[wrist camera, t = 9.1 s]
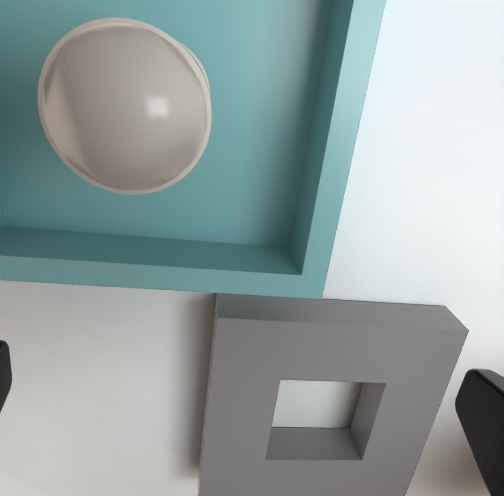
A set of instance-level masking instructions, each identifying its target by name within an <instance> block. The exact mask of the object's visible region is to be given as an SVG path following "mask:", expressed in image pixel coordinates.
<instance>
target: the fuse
mask: <svg viewBox="0 0 504 496" xmlns="http://www.w3.org/2000/svg"><path fill="white" fill-rule="evenodd" d="M38 109H39V116H40V119H41V123H42V127H43V129H44V132H45V134H46V137H47V139H48V140H49V142H50V144H51V146H52V148H53V149H54V150H55V152H56V153H57V155H58V156H59V157H60V159H61V160H62V161H63V162H64V163H65V164H66V165H67V166H68V167H69V168H70V169H71V170H72V171H73V172H74V173H76V174H77V175H78V176H80V177H81V178H83V179H84V180H85V181H87V182H89V183H91V184H93V185H95V186H97V187H99V188H102V189H104V190H107V191H111V192H115V193H120V194H130V195H139V194H148V193H152V192H157V191H160V190H162V189H165V188H167V187H169V186H171V185H173V184H175V183H176V182H178V181H179V180H181V179H182V178H184V177H185V176H186V175H187V174H188V173H189V172H190V171H191V170H192V169H193V167H194V166H195V165H196V164H197V162H198V161H199V159H200V157H201V156H202V154H203V152H204V150H205V147H206V145H207V142H208V138H209V135H210V129H211V119H212V110H211V99H210V85H209V80H208V76H207V74H206V71H205V69H204V67H203V65H202V63H201V62H200V60H199V59H198V57H197V56H196V55H195V54H194V53H193V52H192V51H191V50H190V49H189V48H188V47H187V46H185V45H184V44H182V43H181V42H179V41H177V40H175V39H174V38H173V37H171V36H170V35H168V34H167V33H165V32H164V31H162V30H160V29H158V28H156V27H154V26H152V25H150V24H147V23H144V22H141V21H138V20H133V19H129V18H117V17H113V18H102V19H97V20H93V21H90V22H87V23H85V24H82V25H80V26H78V27H76V28H75V29H73V30H71V31H70V32H69V33H67V34H66V35H65V36H64V37H62V38H61V39H60V40H59V42H58V43H57V44H56V45H55V46H54V47H53V49H52V50H51V52H50V53H49V55H48V56H47V58H46V61H45V63H44V65H43V67H42V71H41V74H40V78H39V84H38Z"/></svg>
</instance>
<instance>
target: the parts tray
mask: <svg viewBox="0 0 504 496" xmlns="http://www.w3.org/2000/svg"><path fill="white" fill-rule="evenodd" d="M385 3H386V0H0V280H8V281H25V282H42V283H59V284H76V285H93V286H110V287H127V288H144V289H161V290H178V291H195V292H212V293H229V294H246V295H263V296H280V297H297V298H314V299H322V295H323V290H324V285H325V281H326V276H327V272H328V267H329V262H330V258H331V253H332V248H333V244H334V239H335V235H336V230H337V225H338V221H339V216H340V211H341V207H342V202H343V198H344V193H345V188H346V184H347V179H348V174H349V170H350V165H351V160H352V156H353V151H354V147H355V142H356V137H357V133H358V128H359V123H360V119H361V114H362V110H363V105H364V100H365V96H366V91H367V86H368V82H369V77H370V73H371V68H372V63H373V59H374V54H375V49H376V45H377V40H378V35H379V31H380V26H381V22H382V17H383V12H384V8H385ZM113 17H117V18H129V19H133V20H138V21H141V22H144V23H147V24H150V25H152V26H154V27H156V28H158V29H160V30H162V31H164V32H165V33H167V34H168V35H170V36H171V37H173V38H174V39H175V40H177V41H179V42H181V43H182V44H184V45H185V46H187V47H188V48H189V49H190V50H191V51H192V52H193V53H194V54H195V55H196V56H197V57H198V59H199V60H200V62H201V63H202V65H203V67H204V69H205V71H206V74H207V76H208V80H209V85H210V99H211V110H212V119H211V129H210V135H209V138H208V142H207V145H206V147H205V150H204V152H203V154H202V156H201V157H200V159H199V161H198V162H197V164H196V165H195V166H194V167H193V169H192V170H191V171H190V172H189V173H188V174H187V175H186V176H185V177H184V178H182V179H181V180H179V181H178V182H176V183H175V184H173V185H171V186H169V187H167V188H165V189H162V190H160V191H157V192H152V193H148V194H139V195H130V194H120V193H115V192H111V191H107V190H104V189H102V188H99V187H97V186H95V185H93V184H91V183H89V182H87V181H85V180H84V179H83V178H81V177H80V176H78V175H77V174H76V173H74V172H73V171H72V170H71V169H70V168H69V167H68V166H67V165H66V164H65V163H64V162H63V161H62V160H61V159H60V157H59V156H58V155H57V153H56V152H55V150H54V149H53V148H52V146H51V144H50V142H49V140H48V139H47V137H46V134H45V132H44V129H43V127H42V123H41V119H40V116H39V109H38V84H39V78H40V74H41V71H42V67H43V65H44V63H45V61H46V58H47V56H48V55H49V53H50V52H51V50H52V49H53V47H54V46H55V45H56V44H57V43H58V42H59V40H60V39H61V38H62V37H64V36H65V35H66V34H67V33H69V32H70V31H71V30H73V29H75V28H76V27H78V26H80V25H82V24H85V23H87V22H90V21H93V20H97V19H102V18H113Z"/></svg>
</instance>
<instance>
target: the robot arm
mask: <svg viewBox="0 0 504 496" xmlns="http://www.w3.org/2000/svg"><path fill="white" fill-rule="evenodd" d="M11 384H12V371H11V362H10V353H9V346H8V344H7V343H6V342H5V341H3V340H0V412H1V410H2V408H3V405H4V403H5V401H6V398H7V396H8V393H9V391H10V388H11ZM455 407H456V412H457V415H458V417H459V420H460V422H461V425H462V427H463V430H464V432H465V435H466V437H467V440H468V442H469V445H470V448H471V450H472V453H473V455H474V458H475V460H476V463H477V465H478V468H479V470H480V473H481V475H482V477H483V480H484V482H485V484H486V487H487V489H488V491H489V493H490V495H491V496H504V377H502V376H501V375H499V374H497V373H495V372H494V371H491V370H488V369H470V370H469V371H468V372H467V373H466V375H465V377H464V380H463V382H462V385H461V387H460V389H459V392H458V394H457V397H456V401H455Z"/></svg>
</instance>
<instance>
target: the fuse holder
mask: <svg viewBox="0 0 504 496" xmlns="http://www.w3.org/2000/svg"><path fill="white" fill-rule="evenodd" d="M468 332H469V330H468V329H467V328H466V327H465V326H464V325H463V324H462V323H461V322H460V321H459V320H458V319H457V318H456V317H455V316H454V315H453V314H452V313H451V312H450V310H449V309H448V308H447V307H446V306H433V305H416V304H399V303H382V302H365V301H348V300H331V299H314V298H297V297H280V296H263V295H246V294H229V293H217V295H216V305H215V314H214V324H213V334H212V344H211V353H210V363H209V373H208V383H207V393H206V402H205V412H204V422H203V432H202V441H201V451H200V461H199V482H198V496H405V494H406V492H407V489H408V487H409V484H410V481H411V479H412V476H413V474H414V471H415V469H416V466H417V463H418V461H419V458H420V456H421V453H422V450H423V448H424V445H425V443H426V440H427V438H428V435H429V432H430V430H431V427H432V425H433V422H434V420H435V417H436V414H437V412H438V409H439V407H440V404H441V402H442V399H443V396H444V394H445V391H446V389H447V386H448V383H449V381H450V378H451V376H452V373H453V371H454V368H455V365H456V363H457V360H458V358H459V355H460V353H461V350H462V347H463V345H464V342H465V340H466V337H467V335H468ZM280 380H308V381H339V382H363V385H362V388H361V392H360V395H359V399H358V402H357V405H356V409H355V412H354V416H353V419H352V423H351V426H350V429H343V428H279V427H271V426H272V421H273V415H274V410H275V405H276V400H277V394H278V389H279V384H280Z"/></svg>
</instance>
